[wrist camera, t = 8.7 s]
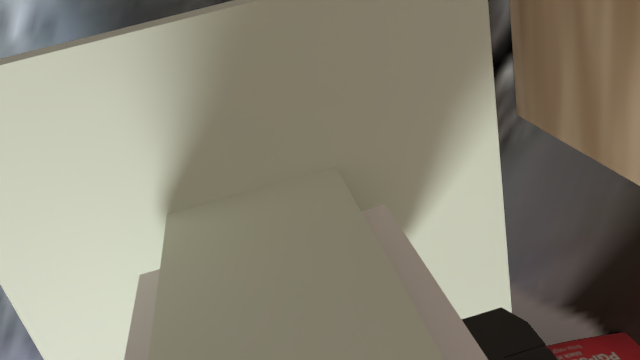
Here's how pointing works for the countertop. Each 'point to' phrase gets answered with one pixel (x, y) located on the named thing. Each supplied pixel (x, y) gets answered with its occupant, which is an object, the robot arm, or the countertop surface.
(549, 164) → the countertop surface
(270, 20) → the lid
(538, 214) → the countertop surface
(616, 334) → the ink box
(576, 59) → the storage box
